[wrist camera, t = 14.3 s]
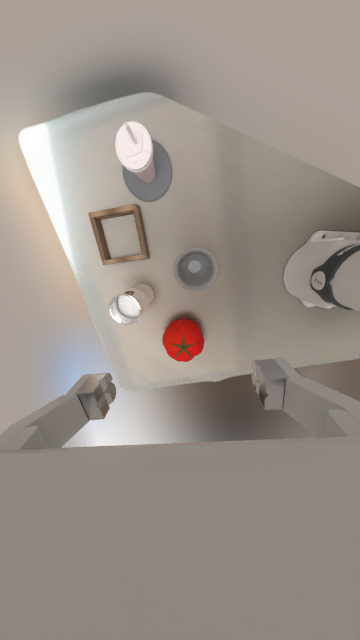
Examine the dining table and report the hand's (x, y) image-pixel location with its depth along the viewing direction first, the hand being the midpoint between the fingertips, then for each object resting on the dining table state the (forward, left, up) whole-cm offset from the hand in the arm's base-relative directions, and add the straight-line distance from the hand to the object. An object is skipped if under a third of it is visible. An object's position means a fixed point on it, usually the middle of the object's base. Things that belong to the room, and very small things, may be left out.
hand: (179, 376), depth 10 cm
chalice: (-2, -4, -39) cm, 40 cm away
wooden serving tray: (+15, -13, -39) cm, 44 cm away
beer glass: (+13, +2, -39) cm, 41 cm away
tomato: (+3, +15, -39) cm, 42 cm away
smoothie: (+6, -25, -39) cm, 46 cm away
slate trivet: (+6, -25, -39) cm, 47 cm away
